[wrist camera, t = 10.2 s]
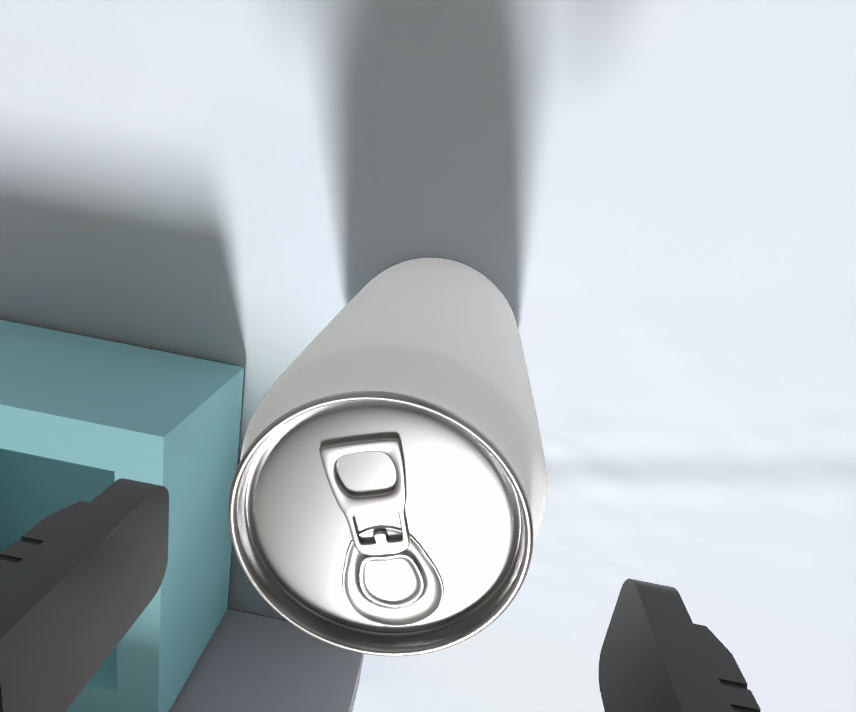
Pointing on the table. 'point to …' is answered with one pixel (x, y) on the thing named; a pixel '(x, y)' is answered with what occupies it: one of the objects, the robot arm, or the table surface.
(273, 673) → the wall board
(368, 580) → the can
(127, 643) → the socket block
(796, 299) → the table surface
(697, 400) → the table surface
